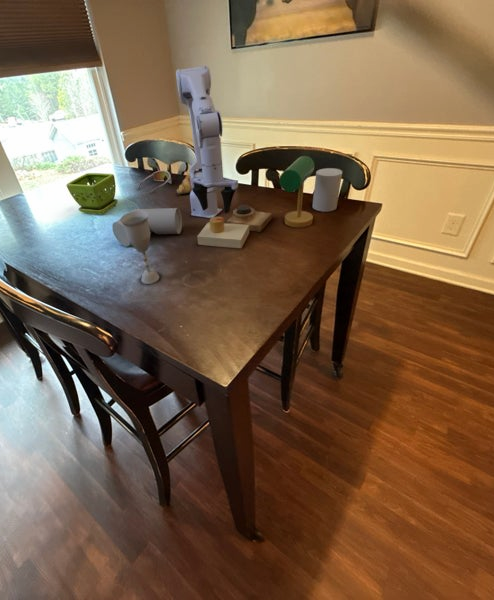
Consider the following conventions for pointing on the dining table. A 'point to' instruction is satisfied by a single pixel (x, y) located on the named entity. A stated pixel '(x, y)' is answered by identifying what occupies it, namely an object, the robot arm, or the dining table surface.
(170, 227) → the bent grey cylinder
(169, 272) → the dining table surface
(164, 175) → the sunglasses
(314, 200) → the light grey upright cylinder
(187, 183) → the croissant
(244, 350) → the dining table surface
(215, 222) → the dimmer knob
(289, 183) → the bracelet display stand
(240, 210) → the button
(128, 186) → the dining table surface
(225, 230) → the dimmer panel
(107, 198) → the flower pot
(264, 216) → the switch box
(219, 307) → the dining table surface
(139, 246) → the chalice
